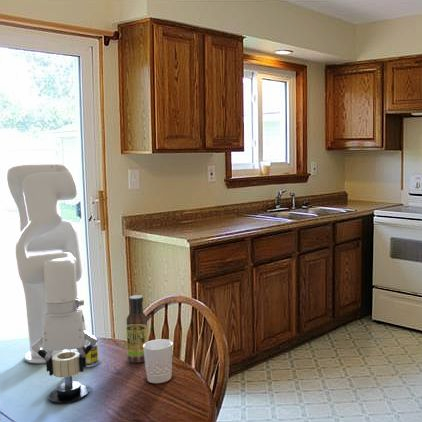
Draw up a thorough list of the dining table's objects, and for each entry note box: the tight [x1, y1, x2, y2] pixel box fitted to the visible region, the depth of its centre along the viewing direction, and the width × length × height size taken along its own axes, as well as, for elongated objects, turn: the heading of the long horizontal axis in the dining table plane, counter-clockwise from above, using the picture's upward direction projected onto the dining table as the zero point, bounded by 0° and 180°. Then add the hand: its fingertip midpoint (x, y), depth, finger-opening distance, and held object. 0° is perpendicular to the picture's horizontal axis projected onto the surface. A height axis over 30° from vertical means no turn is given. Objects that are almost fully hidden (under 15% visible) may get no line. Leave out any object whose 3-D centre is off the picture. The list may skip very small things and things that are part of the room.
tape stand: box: [48, 376, 90, 405], centre depth 140 cm, size 10×10×8 cm
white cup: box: [143, 338, 173, 384], centre depth 149 cm, size 8×8×10 cm
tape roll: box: [52, 349, 81, 379], centre depth 140 cm, size 7×7×4 cm
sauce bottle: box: [125, 294, 149, 364], centre depth 162 cm, size 6×6×20 cm
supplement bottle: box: [84, 334, 99, 368], centre depth 160 cm, size 5×5×8 cm
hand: (67, 371), depth 140 cm, fingers closed on tape roll, 6 cm apart
